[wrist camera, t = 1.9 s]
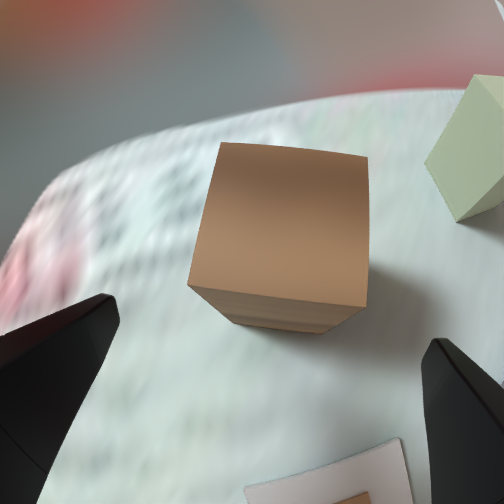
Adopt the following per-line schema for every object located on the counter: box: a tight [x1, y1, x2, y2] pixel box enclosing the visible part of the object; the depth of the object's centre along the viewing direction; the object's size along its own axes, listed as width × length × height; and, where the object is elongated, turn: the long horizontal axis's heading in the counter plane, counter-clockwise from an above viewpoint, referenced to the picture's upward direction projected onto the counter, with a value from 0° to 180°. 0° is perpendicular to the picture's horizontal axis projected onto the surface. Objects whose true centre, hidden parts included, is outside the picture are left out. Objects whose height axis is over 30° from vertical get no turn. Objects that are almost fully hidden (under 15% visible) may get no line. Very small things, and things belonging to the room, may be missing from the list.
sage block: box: [424, 75, 504, 222], centre depth 16 cm, size 6×6×10 cm
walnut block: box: [187, 142, 369, 334], centre depth 15 cm, size 6×6×10 cm
